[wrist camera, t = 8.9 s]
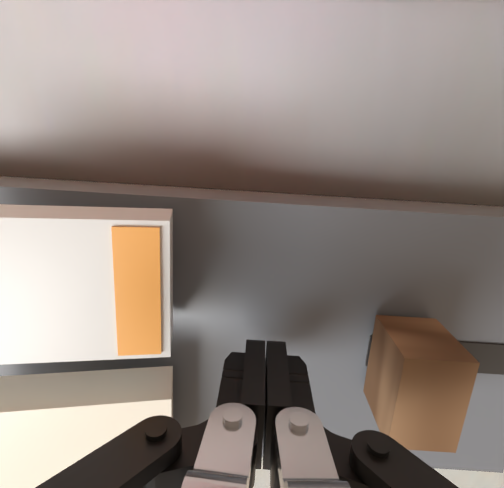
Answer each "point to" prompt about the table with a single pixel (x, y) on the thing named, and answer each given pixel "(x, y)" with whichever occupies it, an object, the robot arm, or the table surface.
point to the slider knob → (419, 382)
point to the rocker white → (85, 283)
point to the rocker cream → (72, 416)
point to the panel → (313, 293)
